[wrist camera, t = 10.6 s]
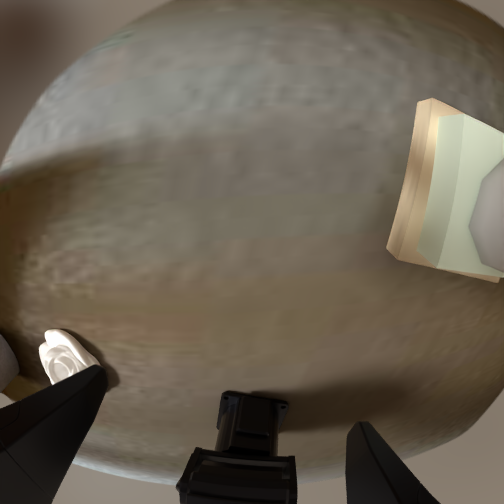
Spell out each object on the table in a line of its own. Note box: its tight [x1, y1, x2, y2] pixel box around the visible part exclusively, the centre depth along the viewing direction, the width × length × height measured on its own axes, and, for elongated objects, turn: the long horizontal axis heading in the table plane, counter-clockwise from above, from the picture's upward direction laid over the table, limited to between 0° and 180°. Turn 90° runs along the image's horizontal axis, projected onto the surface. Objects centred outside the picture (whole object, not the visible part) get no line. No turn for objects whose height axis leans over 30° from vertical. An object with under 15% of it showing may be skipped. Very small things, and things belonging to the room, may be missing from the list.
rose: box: [39, 329, 108, 389], centre depth 25 cm, size 10×4×10 cm
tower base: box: [386, 98, 500, 283], centre depth 16 cm, size 11×11×3 cm
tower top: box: [416, 114, 504, 278], centre depth 14 cm, size 9×9×3 cm
